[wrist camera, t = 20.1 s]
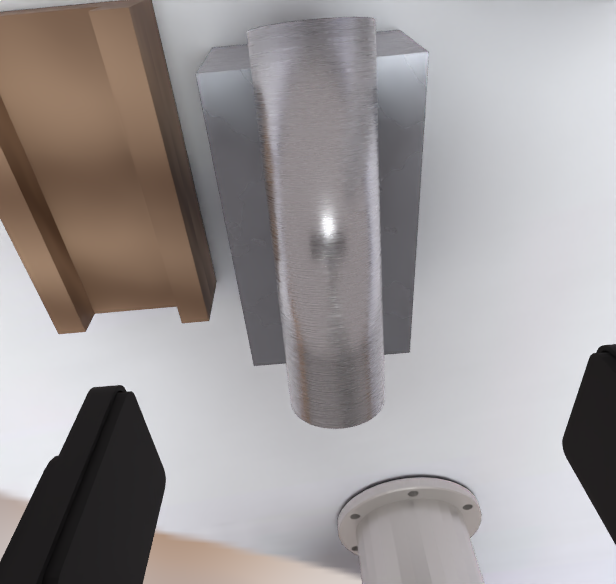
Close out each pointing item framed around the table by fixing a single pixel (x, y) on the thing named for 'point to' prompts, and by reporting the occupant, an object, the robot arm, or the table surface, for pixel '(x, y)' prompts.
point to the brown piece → (98, 165)
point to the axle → (324, 210)
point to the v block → (252, 195)
